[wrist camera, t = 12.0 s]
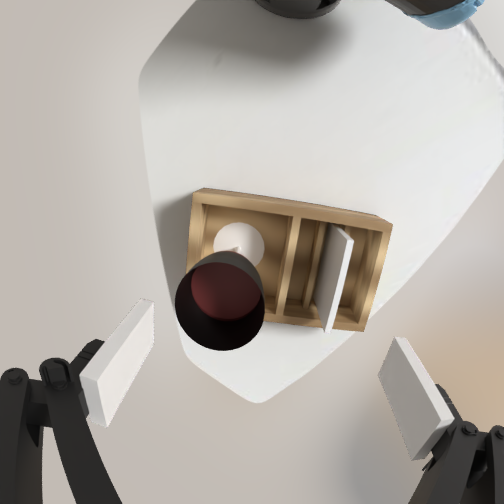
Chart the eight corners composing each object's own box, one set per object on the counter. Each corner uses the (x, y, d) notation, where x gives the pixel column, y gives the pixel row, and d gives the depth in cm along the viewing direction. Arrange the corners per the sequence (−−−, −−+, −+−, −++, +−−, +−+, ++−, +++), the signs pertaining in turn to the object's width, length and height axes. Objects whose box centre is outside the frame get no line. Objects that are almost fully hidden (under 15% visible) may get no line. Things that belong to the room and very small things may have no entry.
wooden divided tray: (203, 187, 45) (193, 192, 38) (375, 215, 45) (392, 224, 38) (194, 288, 49) (183, 308, 43) (352, 310, 49) (363, 331, 43)
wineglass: (211, 273, 47) (177, 346, 28) (212, 216, 45) (172, 259, 26) (264, 277, 47) (261, 353, 28) (267, 220, 45) (268, 265, 26)
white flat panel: (328, 221, 44) (347, 239, 34) (334, 221, 44) (354, 240, 34) (313, 296, 48) (324, 333, 37) (317, 297, 48) (330, 333, 37)
